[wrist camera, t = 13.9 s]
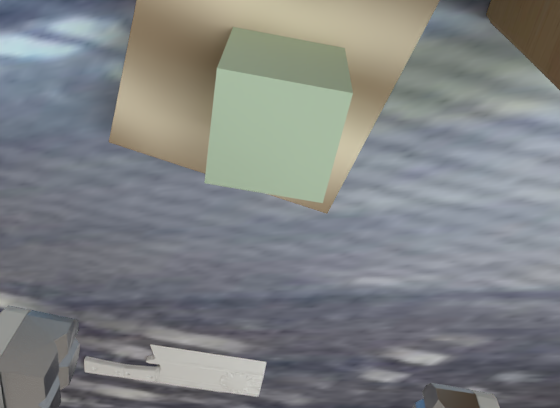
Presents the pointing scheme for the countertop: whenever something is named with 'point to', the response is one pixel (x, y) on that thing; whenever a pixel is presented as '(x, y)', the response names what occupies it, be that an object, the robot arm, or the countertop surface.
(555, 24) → the decorative block
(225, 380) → the white plastic strip tool
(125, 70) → the pale maple block
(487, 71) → the countertop surface
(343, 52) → the sage green cube
